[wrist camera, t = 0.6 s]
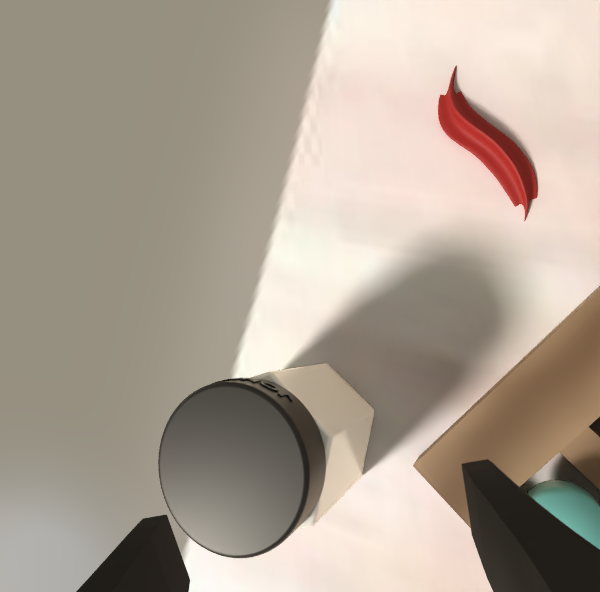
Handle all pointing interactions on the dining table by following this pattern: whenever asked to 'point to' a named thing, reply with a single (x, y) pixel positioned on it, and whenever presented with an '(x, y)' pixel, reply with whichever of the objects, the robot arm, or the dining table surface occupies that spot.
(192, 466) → the jar
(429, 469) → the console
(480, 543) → the robot arm
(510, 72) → the dining table surface
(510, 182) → the cayenne pepper
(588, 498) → the teal rounded piece
